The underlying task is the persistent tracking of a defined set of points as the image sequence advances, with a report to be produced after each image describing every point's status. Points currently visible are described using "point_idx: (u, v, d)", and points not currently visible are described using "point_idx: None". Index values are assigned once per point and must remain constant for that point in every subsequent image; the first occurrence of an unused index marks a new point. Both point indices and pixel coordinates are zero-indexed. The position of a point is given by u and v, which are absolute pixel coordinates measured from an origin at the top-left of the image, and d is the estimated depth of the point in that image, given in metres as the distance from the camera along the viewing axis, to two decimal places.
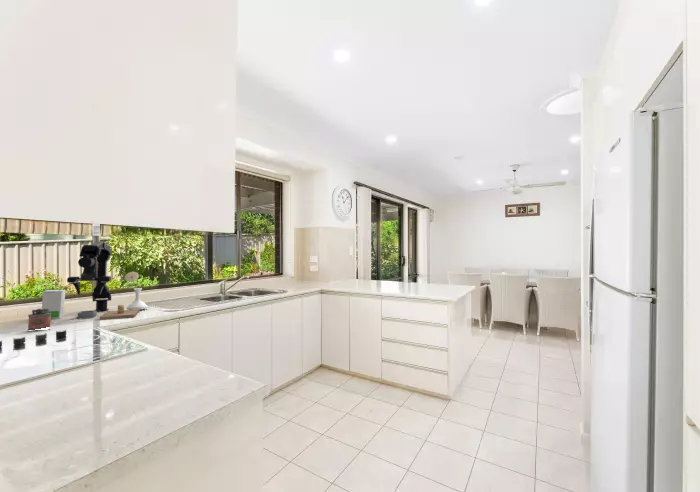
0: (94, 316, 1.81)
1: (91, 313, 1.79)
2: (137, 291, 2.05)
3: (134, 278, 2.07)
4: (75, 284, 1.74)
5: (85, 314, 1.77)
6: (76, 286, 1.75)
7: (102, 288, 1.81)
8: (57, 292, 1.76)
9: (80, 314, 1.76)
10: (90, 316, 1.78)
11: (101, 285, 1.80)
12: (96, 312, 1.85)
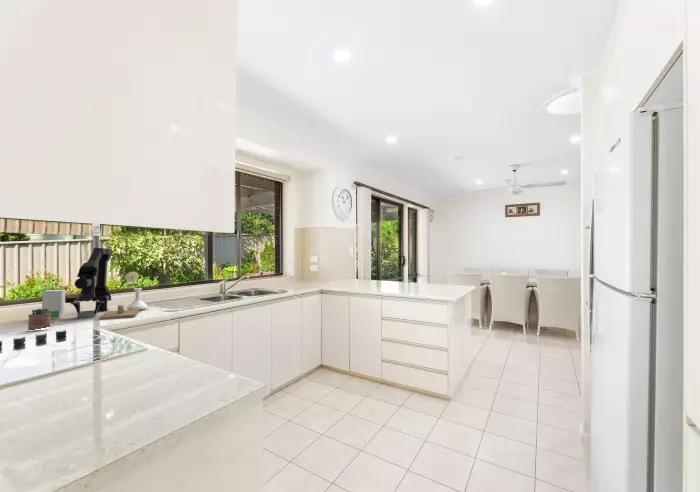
0: (94, 316, 1.81)
1: (91, 313, 1.79)
2: (137, 291, 2.05)
3: (134, 278, 2.07)
4: (75, 304, 1.76)
5: (85, 314, 1.77)
6: (76, 306, 1.77)
7: (98, 308, 1.83)
8: (57, 292, 1.76)
9: (80, 314, 1.76)
10: (90, 316, 1.78)
11: (97, 305, 1.81)
12: None
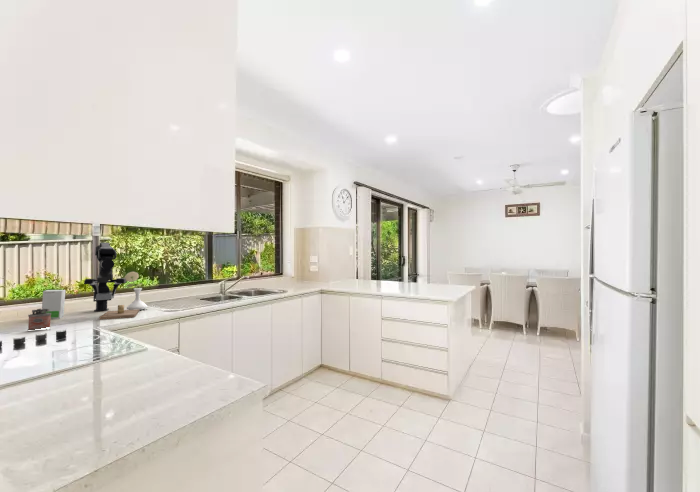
0: None
1: (109, 295, 1.81)
2: (137, 291, 2.05)
3: (134, 278, 2.07)
4: (94, 286, 1.79)
5: (103, 295, 1.80)
6: (95, 288, 1.80)
7: (115, 290, 1.86)
8: (57, 292, 1.76)
9: (98, 295, 1.79)
10: (108, 297, 1.81)
11: (114, 287, 1.84)
12: None
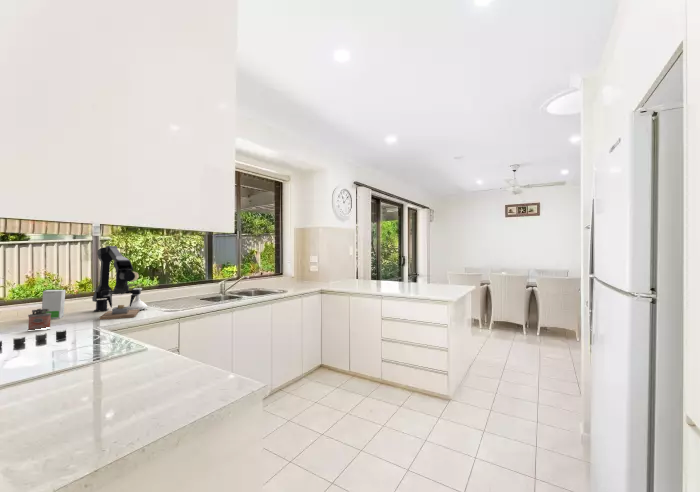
0: (127, 312, 1.87)
1: (125, 309, 1.84)
2: None
3: (134, 278, 2.07)
4: (108, 297, 1.82)
5: (119, 310, 1.83)
6: (109, 299, 1.82)
7: (132, 301, 1.89)
8: (57, 292, 1.76)
9: (114, 310, 1.82)
10: (124, 312, 1.84)
11: (132, 298, 1.87)
12: (128, 308, 1.90)
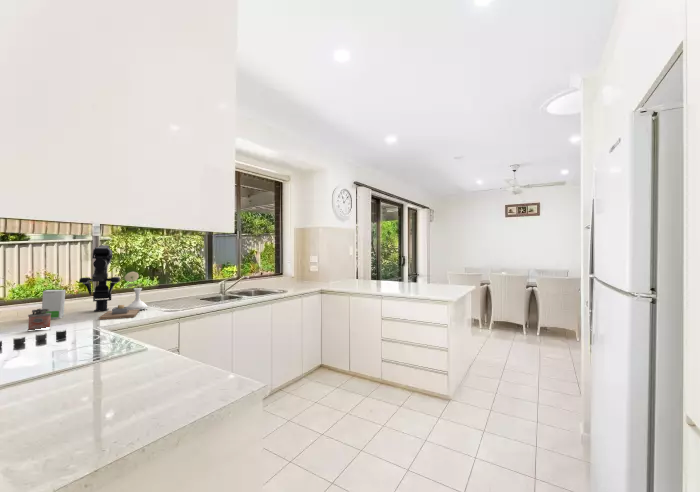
0: (127, 312, 1.87)
1: (125, 309, 1.84)
2: (137, 291, 2.05)
3: (134, 278, 2.07)
4: (87, 284, 1.84)
5: (119, 310, 1.83)
6: (87, 286, 1.85)
7: (112, 288, 1.92)
8: (57, 292, 1.76)
9: (114, 310, 1.82)
10: (124, 312, 1.84)
11: (111, 285, 1.90)
12: (128, 308, 1.90)
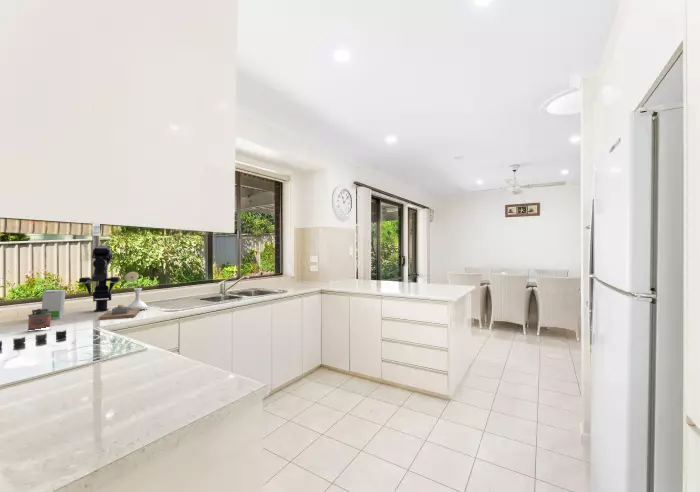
0: (127, 312, 1.87)
1: (125, 309, 1.84)
2: (137, 291, 2.05)
3: (134, 278, 2.07)
4: (86, 284, 1.84)
5: (119, 310, 1.83)
6: (87, 286, 1.85)
7: (111, 288, 1.92)
8: (57, 292, 1.76)
9: (114, 310, 1.82)
10: (124, 312, 1.84)
11: (111, 285, 1.90)
12: (128, 308, 1.90)
